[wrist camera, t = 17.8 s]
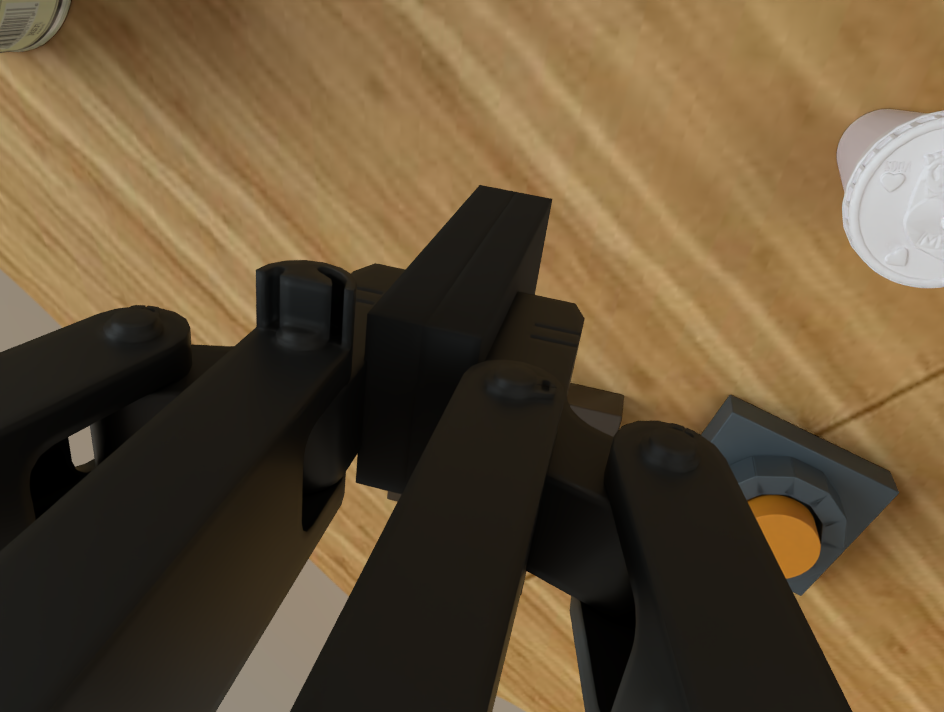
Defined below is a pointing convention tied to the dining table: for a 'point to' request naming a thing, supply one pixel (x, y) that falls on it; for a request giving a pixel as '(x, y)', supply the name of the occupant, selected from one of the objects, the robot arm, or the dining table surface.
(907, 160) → the smoothie
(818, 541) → the bell button
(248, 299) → the dining table surface
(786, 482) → the grey button base
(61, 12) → the coffee can
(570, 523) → the robot arm
